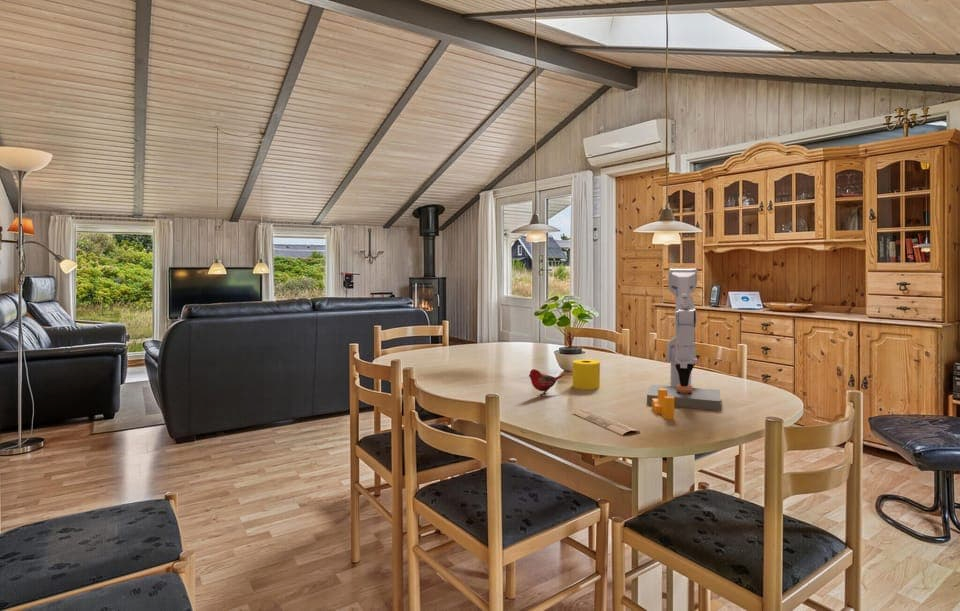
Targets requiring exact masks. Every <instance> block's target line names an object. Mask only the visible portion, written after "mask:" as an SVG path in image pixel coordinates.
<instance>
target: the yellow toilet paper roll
mask: <svg viewBox="0 0 960 611" xmlns="http://www.w3.org/2000/svg"><path fill="white" fill-rule="evenodd" d="M600 365H601V361H600V360H595V359H590V358H589V359H588V358H587V359H586V358H585V359H584V358H583V359H574V360H573V361H572V388H574V387H576V388H575V389H578V388H581V389H580V390H596V389H595V388H597V389H600V384H601V383H600V381H601V378H600V376H601V374H600V373H601V368H600V367H601V366H600Z"/></svg>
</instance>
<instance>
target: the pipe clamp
mask: <svg viewBox="0 0 960 611" xmlns="http://www.w3.org/2000/svg"><path fill="white" fill-rule="evenodd" d="M651 410H652V411H653V412H654V414H655V415H657V413H658V415H661V416H662V417H663V418H664V419H665V420H675V406H674V397H668V390H667V389H658V399H652V404H651Z"/></svg>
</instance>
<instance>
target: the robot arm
mask: <svg viewBox="0 0 960 611" xmlns="http://www.w3.org/2000/svg"><path fill="white" fill-rule="evenodd" d="M698 274H699V273H698V269H697V268H695V267H694V268H669V269H668V276H667V278H668V281H667V282H668V292H670V293H672V294H674V298H675V312H674V325H675V336H674V337H672V338H671V339H670V340H669V341H668V342H667V347H666V348H667V349H666V351H667V352H666V357H667V358H666V360H667V363H670V383H669V385H668V386H675V387H676V385H677V384H680V385H681V386H688V385H691V386H692V388H694V387H693V383H692V371H693V370H694V366H695V363H697V362H698V361H699V359H698V358H697V350H696V349H697V348H696V343H695V332H696V331H695V330H696V327H697V318H698V316H697V309H696V307H695V304H694V303H695V301H694V297H693V296H692V295H691V294H692V293H694V292H696V289H697V285H698Z"/></svg>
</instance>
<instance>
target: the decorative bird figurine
mask: <svg viewBox="0 0 960 611" xmlns="http://www.w3.org/2000/svg"><path fill="white" fill-rule="evenodd" d="M563 376H565V374H564V373H563V374H559V375H558V376H555V377H554V376H552V375H549V374H544V373H541V372H540V371H539V370H538V369H534V368H533V369H531V370H530V371H529V374H528V377H529V378H530V380H531V384H532V387H533V388H535V389H536V390H537V391H540V392H542V393H540V394H538V395H537V397H539V396H540V397H543V396H546V395H548V394H549V393H548V390H550V389H551V388H552V387H554V386H555V384H556V382H557V381H558V380H559V379H560V378H563ZM542 395H543V396H542Z"/></svg>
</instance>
